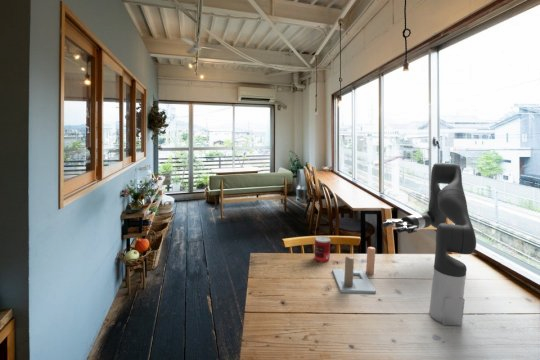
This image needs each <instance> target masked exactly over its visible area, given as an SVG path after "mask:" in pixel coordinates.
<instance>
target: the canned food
mask: <svg viewBox="0 0 540 360" xmlns="http://www.w3.org/2000/svg"><path fill="white" fill-rule="evenodd" d="M330 256H331V238H330V237H328V236H324V235H319V236H315V239H314V259H315V260H316V261H317V262H319V263H327V262H329V261H330Z"/></svg>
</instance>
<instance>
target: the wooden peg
mask: <svg viewBox="0 0 540 360" xmlns="http://www.w3.org/2000/svg"><path fill="white" fill-rule="evenodd" d="M375 259H376V248H375V247H373V246H368V247H367V250H366V265H365V266H366V269H365V274H366V275H368V276H369V275H370V276H373V275H374V274H375Z"/></svg>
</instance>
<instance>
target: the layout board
mask: <svg viewBox="0 0 540 360" xmlns="http://www.w3.org/2000/svg"><path fill="white" fill-rule="evenodd" d="M344 259H345V260H344V262H345V263H344V269H343V268H342V269H341V268H337V269H336V268H332V274H333V276H334V279H335V282H336V284H337V286H338V289H339V292H340V293H347V294H348V293H350V294H353V293H355V294H357V293H358V294H376V293H377V291H376V289H375V287H374V286H373V284H372V282H371V281H370V279H369V278H368V275H367V273H366V272H365V271H364V269H355V267H354V265H355V258H354V257H353V256H351V255H347V256H345V258H344ZM354 276H359V277H360V278H354Z"/></svg>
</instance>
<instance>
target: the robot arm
mask: <svg viewBox="0 0 540 360" xmlns="http://www.w3.org/2000/svg"><path fill="white" fill-rule="evenodd" d="M431 168H432V169H431V173H430V174H431V175H430V195H429V196H430V198H429V201H428V208H427V210H425V211H424V212H422V213H420V214H412V215H405V216H403V217H402V218H401V219H398V220H397V219H396V220H395V218H388V219H384V222H382V223H381V228H387V227H391V228H393V229H394V228H395V229H396V233H397V234H400V233H407V234H413V233H416V232H418V230H422V229H426V228H429V227H430V226H432V227H433V228H435V229H436V231H435V232H436V233H435V252H434V262H433V263H434V264H433V273H432V280H431V281H432V283H431V289H430V290H431V293H430V301H429V302H430V303H429V315H430V316H431V318H432V319H434V320H435V321H437V322H438V323H440V324H442V326H463V320H464V319H463V318H464V308H465V298H464V295H465V285H466V279H467V277H466V276H467V266H466V265H465V263H464V262H462V261H460V260H458V259H456V258H454V257H453V256H451V255H449V253H455V254H460V255H471V254H473V253H475V250H476V249H477V237H476V232H475V229H474V226H473V224H472V221H471V218H470V215H469V210H468V202H467V199H466V194H465V191H464V186H463V178H462V175H463V173H462V169H461V166H460V165H459V164H457V163H451V162H450V163H449V162H448V163H446V162H435V163H433V165H432V167H431ZM439 184H441V185H442V184H443V185H445V186H444V187H443V188H440V185H439ZM447 219H448V220H449V221H450V222H452V223H453V224H451V223H446V222H447Z"/></svg>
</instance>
